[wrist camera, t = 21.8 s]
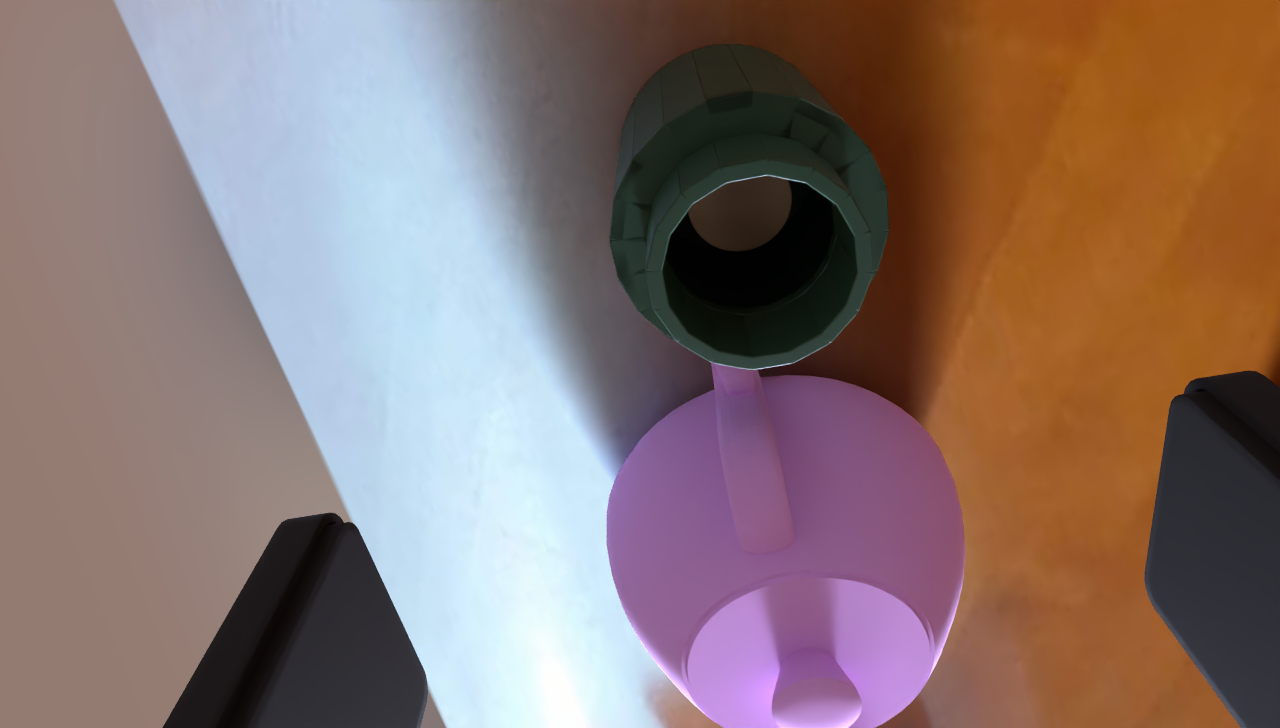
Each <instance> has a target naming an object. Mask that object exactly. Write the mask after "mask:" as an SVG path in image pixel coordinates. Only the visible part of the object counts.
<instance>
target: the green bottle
mask: <svg viewBox="0 0 1280 728" xmlns="http://www.w3.org/2000/svg"><path fill="white" fill-rule="evenodd" d="M762 176H772V177H777V178H782V179H787V180H789V183H790V187H791V192H792V204H791V210H790V213H789V216H788V218H787V221H786V223H785V224H784V226H783V227H782V229H781V230H780V231H779V233H778V234H777V235H776V236H775V237H774V238H772V239H771V240H770V241H768V242H767V243H765V244H763V245H762V246H759V247H757V248H754V249H751V250H747V251H727V250H722V249H719V248H716V247H714V246H712V245H711V244H709V243H708V242H706V241H705V240H704V239H703V238H701V237H700V235H699V234H698V233H697V232H696V230H695V229H694V227H693V225H692V223H691V221H690V218H689V215H688V210H689V209H690V208H691V206H692V205H693V204H694V203H696V202H697V201H699V200H701V199H702V198H704V197H705V196H707V195H709V194H710V193H712V192H713V191H715V190H717V189H718V188H720V187H721V186H723V185H725V184H726V183H730V182H735V181H740V180H746V179H751V178H756V177H762ZM886 188H887V187H886V185H885V182H884V180H883V178H882V175H881V173H880V171H879V168H878V166H877V163H876V161H875V159H874V156H873V154H872V152H871V150H870V148H869V147H868V146H867V145H866V144H865V143H864V141H863V140H862V139H861V138H860V137H859V136H858V135H857V134H856V133H855V132H854V130H853V129H852V128H851V127H850V126H849V125H848V124H847V123H846V122H845V121H844V119H843V118H842V117H841V116H840V115H839V114H838V113H837V112H836V111H835V109H834V108H833V107H832V106H831V105H830V104H829V103H828V102H827V101H826V100H825V98H824V97H823V96H822V95H821V94H820V93H819V92H818V91H817V90H816V88H815V87H814V86H813V85H812V84H811V83H810V82H809V81H808V80H807V79H806V78H805V77H804V76H803V75H802V74H801V72H800V71H799V70H798V69H797V68H796V67H795V66H794V65H792V64H791V63H789V62H787V61H785V60H784V59H782V58H781V57H779V56H777V55H775V54H773V53H771V52H768V51H766V50H763V49H760V48H757V47H753V46H748V45H741V44H719V45H712V46H706V47H703V48H699V49H695V50H693V51H690V52H688V53H686V54H683V55H681V56H679V57H678V58H676V59H674V60H673V61H671V62H669V63H668V64H666V65H665V66H664V67H663V68H661V69H660V70H659V71H658V72H656V73H655V74H654V75H653V76H652V77H651V78H650V79H649V81H648V82H647V83H646V84H645V85H644V87H643V88H642V89H641V91H640V92H639V93H638V95H637V96H636V98H635V100H634V102H633V104H632V105H631V107H630V110H629V112H628V115H627V117H626V120H625V123H624V125H623V128H622V133H621V141H620V149H619V158H618V166H617V174H616V183H615V191H614V199H613V209H612V218H611V227H610V237H609V238H610V246H611V250H612V254H613V259H614V263H615V268H616V272H617V276H618V278H619V281H620V283H621V285H622V286H623V288H624V289H625V291H626V293H627V294H628V296H629V298H630V299H631V301H632V302H633V304H634V306H635V307H636V309H637V310H638V312H640V314H641V315H642V316H643V317H645V318H646V319H647V320H648V321H649V322H651V323H652V324H653V325H654V326H655V327H656V328H658V329H659V330H660V331H661V332H662V333H664V334H665V335H666V336H667V337H669V338H670V339H673V340H675V341H677V342H678V343H679V344H681V345H682V346H684V347H686V348H687V349H689V350H690V351H692V352H694V353H695V354H697V355H699V356H700V357H702V358H704V359H705V360H707V361H709V362H712V363H713V364H719V365H724V366H730V367H735V368H741V369H746V370H751V369H752V370H758V369H764V368H770V367H776V366H782V365H788V364H792V363H795V362H797V361H799V360H801V359H803V358H805V357H807V356H808V355H810V354H812V353H814V352H816V351H818V350H819V349H821V348H823V347H825V346H827V345H829V344H830V342H832V341H833V340H834V339H835V338H836V337H837V336H838V335H839V334H840V333H841V331H842V330H843V329H844V328H845V327H846V326H847V325H848V324H849V322H850V321H851V320H852V319H853V318H854V317H855V316H856V315H857V313H858V311H859V310H860V308H861V305H862V303H863V300H864V297H865V294H866V292H867V289H868V286H869V284H870V282H871V281H872V279H873V278H874V276H875V275H876V273H877V271H878V269H879V265H880V262H881V258H882V255H883V251H884V247H885V244H886V240H887V237H888V233H889V216H888V197H887V189H886Z"/></svg>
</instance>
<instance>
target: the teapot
mask: <svg viewBox="0 0 1280 728" xmlns="http://www.w3.org/2000/svg"><path fill="white" fill-rule="evenodd" d="M711 366H712V374H713V381H714V390H711V391H709V392H707V393H705V394H703V395H700V396H698V397H696V398H694V399H692V400H690V401H688V402H686V403H685V404H683V405H682V406H680V407H678V408H677V409H675V410H673V411H672V412H670V413H669V414H668V415H666V416H665V417H664V418H663V419H661V420H660V421H659V422H658V423H656V424H655V425H654V426H653V427H652V428H651V429H650V430H649V431H648V432H647V433H646V434H645V435H644V436H643V437H642V438H641V439H640V441H639V442H638V443H637V445H636V446H635V447H634V449H633V450H632V452H631V453H630V454H629V456H628V457H627V458H626V460H625V461H624V463H623V465H622V467H621V469H620V471H619V473H618V474H617V476H616V479H615V481H614V484H613V487H612V490H611V493H610V497H609V503H608V508H607V549H608V555H609V561H610V566H611V571H612V576H613V580H614V583H615V586H616V589H617V592H618V595H619V598H620V601H621V604H622V607H623V609H624V611H625V613H626V615H627V617H628V619H629V621H630V623H631V625H632V627H633V629H634V631H635V633H636V634H637V636H638V638H639V640H640V641H641V643H642V644H643V646H644V647H645V648H646V650H647V651H648V653H649V654H650V655H651V657H652V658H653V659H654V661H655V662H656V663H657V664H658V666H659V667H660V668H661V669H662V671H663V672H664V673H665V674H666V675H667V676H668V678H669V679H670V680H671V681H672V682H673V683H674V684H675V685H676V687H677V688H678V689H679V690H680V691H681V692H682V693H683V694H684V695H685V696H686V697H687V698H688V699H689V700H690V701H691V702H692V703H693V704H694V705H695V706H696V707H697V708H699V709H700V710H701V711H702V712H703V713H704V714H705V715H707V716H708V717H709V718H710V719H712V720H713V721H715V722H716V723H717V724H719V725H721V726H722V727H724V728H875V727H877V726H879V725H881V724H883V723H885V722H886V721H888V720H889V719H891V718H892V717H894V716H895V715H896V714H898V713H899V712H901V711H902V710H903V709H904V708H905V707H906V706H907V705H909V704H910V703H911V702H912V701H913V699H914V698H915V697H916V696H917V695H918V694H919V692H920V691H921V690H922V688H923V687H924V685H925V684H926V682H927V680H928V678H929V676H930V675H931V673H932V671H933V669H934V667H935V665H936V663H937V661H938V659H939V657H940V655H941V652H942V650H943V647H944V644H945V642H946V639H947V636H948V634H949V631H950V628H951V625H952V622H953V619H954V616H955V613H956V609H957V606H958V602H959V598H960V594H961V590H962V584H963V575H964V564H965V539H964V527H963V517H962V512H961V507H960V503H959V499H958V495H957V491H956V487H955V483H954V480H953V478H952V475H951V473H950V471H949V469H948V467H947V464H946V462H945V460H944V458H943V456H942V453H941V451H940V449H939V448H938V446H937V445H936V443H935V442H934V440H933V439H932V437H931V436H930V435H929V433H928V432H927V431H926V430H925V429H924V428H923V427H922V426H921V425H920V424H919V423H918V422H917V421H916V420H915V419H914V418H913V417H912V416H910V415H909V414H908V413H906V412H905V411H904V410H903V409H901V408H900V407H899V406H897V405H895V404H893V403H892V402H890V401H888V400H886V399H885V398H883V397H881V396H879V395H878V394H876V393H874V392H871V391H869V390H866V389H864V388H861V387H859V386H856V385H854V384H850V383H846V382H842V381H839V380H835V379H829V378H822V377H815V376H800V375H782V376H770V377H760V375H759V371H758V370H752V369H751V370H746V369H741V368H735V367H730V366H724V365H719V364H713V363H712V362H711Z"/></svg>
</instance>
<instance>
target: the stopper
mask: <svg viewBox="0 0 1280 728" xmlns="http://www.w3.org/2000/svg"><path fill="white" fill-rule="evenodd" d="M791 204H792V192H791V187H790V183H789V180H787V179H782V178H777V177H772V176H762V177H756V178H751V179H746V180H740V181H735V182H730V183H726V184H725V185H723V186H721V187H720V188H718V189H717V190H715V191H713V192H712V193H710V194H709V195H707V196H705V197H704V198H702V199H701V200H699V201H697V202H696V203H694V204H693V205H692V206H691V208H690V209H689V210H688V215H689V218H690V221H691V223H692V225H693V227H694V229H695V230H696V232H697V233H698V234H699V235H700V237H701V238H703V239H704V240H705V241H706V242H708V243H709V244H711V245H712V246H714V247H716V248H719V249H722V250H727V251H747V250H751V249H754V248H757V247H759V246H762V245H763V244H765V243H767V242H768V241H770V240H771V239H772V238H774V237H775V236H776V235H777V234H778V233H779V231H780V230H781V229H782V227H783V226H784V224H785V223H786V221H787V218H788V216H789V213H790V210H791Z"/></svg>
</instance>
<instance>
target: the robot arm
mask: <svg viewBox="0 0 1280 728" xmlns="http://www.w3.org/2000/svg"><path fill="white" fill-rule="evenodd" d="M1144 580H1145V586H1146V590H1147V594H1148V596H1149V599H1150V601H1151V603H1152V605H1153V606H1154V608H1155V610H1156V611H1157V613H1158V614H1159V615H1160V617H1161V618H1162V619H1163V621H1164V622H1165V624H1166V625H1167V626H1168V628H1169V629H1170V630H1171V632H1172V633H1173V635H1174V636H1175V637H1176V639H1177V640H1178V642H1179V643H1180V644H1181V646H1182V647H1183V648H1184V650H1185V651H1186V653H1187V654H1188V655H1189V657H1190V658H1191V659H1192V661H1193V662H1194V664H1195V665H1196V666H1197V668H1198V669H1199V670H1200V672H1201V673H1202V675H1203V676H1204V677H1205V679H1206V680H1207V682H1208V683H1209V684H1210V686H1211V687H1212V688H1213V690H1214V691H1215V693H1216V694H1217V695H1218V697H1219V698H1220V699H1221V701H1222V702H1223V704H1224V705H1225V706H1226V708H1227V709H1228V710H1229V712H1230V713H1231V715H1232V716H1233V717H1234V719H1235V720H1236V722H1237V723H1238V724H1239V726H1240V727H1241V728H1280V387H1279V386H1277V385H1276V384H1275V383H1273V382H1272V381H1271V380H1269V379H1268V378H1267V377H1266V376H1264V375H1262V374H1260V373H1258V372H1256V371H1243V372H1237V373H1230V374H1224V375H1217V376H1211V377H1204V378H1198V379H1195V380H1193V381H1190V383H1189V384H1188V385H1187V387H1186V388H1185V392H1184V394H1182V395H1178V396H1176V397H1174V399H1173V400H1172V401H1171V405H1170V408H1169V415H1168V422H1167V428H1166V435H1165V442H1164V448H1163V455H1162V461H1161V468H1160V475H1159V481H1158V488H1157V494H1156V501H1155V508H1154V514H1153V521H1152V528H1151V534H1150V541H1149V547H1148V554H1147V561H1146V567H1145V578H1144ZM427 694H428V687H427V679H426V674H425V671H424V669H423V667H422V665H421V662H420V660H419V658H418V656H417V654H416V652H415V650H414V647H413V645H412V643H411V641H410V639H409V637H408V635H407V632H406V630H405V628H404V626H403V624H402V622H401V620H400V617H399V615H398V613H397V611H396V609H395V607H394V605H393V603H392V600H391V598H390V596H389V594H388V592H387V590H386V588H385V585H384V583H383V581H382V579H381V577H380V575H379V573H378V570H377V568H376V566H375V564H374V562H373V560H372V558H371V555H370V553H369V551H368V549H367V547H366V545H365V543H364V540H363V538H362V536H361V534H360V532H359V530H358V528H357V527H356V526H355V525H354V524H353V523H350V522H347V523H344V522H343V521H342V519H341V518H340V517H339V516H338V515H337V514H335V513H325V514H318V515H312V516H306V517H299V518H293V519H287V520H285V521H283V522H282V523H281V524H280V525H279V527H278V528H277V530H276V531H275V533H274V535H273V537H272V538H271V540H270V542H269V544H268V545H267V547H266V549H265V550H264V553H263V554H262V556H261V557H260V559H259V561H258V563H257V564H256V566H255V568H254V570H253V571H252V573H251V575H250V577H249V578H248V580H247V582H246V584H245V585H244V587H243V589H242V590H241V592H240V594H239V596H238V598H237V599H236V601H235V603H234V604H233V606H232V608H231V610H230V611H229V613H228V615H227V617H226V618H225V620H224V622H223V624H222V625H221V627H220V629H219V631H218V632H217V634H216V636H215V638H214V639H213V641H212V643H211V644H210V646H209V648H208V650H207V651H206V653H205V655H204V657H203V658H202V660H201V662H200V664H199V665H198V667H197V669H196V671H195V672H194V674H193V676H192V678H191V679H190V681H189V683H188V684H187V686H186V688H185V690H184V692H183V693H182V695H181V697H180V698H179V700H178V702H177V704H176V705H175V707H174V709H173V711H172V712H171V714H170V716H169V718H168V719H167V721H166V723H165V725H164V726H163V728H420V725H421V722H422V718H423V714H424V711H425V707H426V702H427Z"/></svg>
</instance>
